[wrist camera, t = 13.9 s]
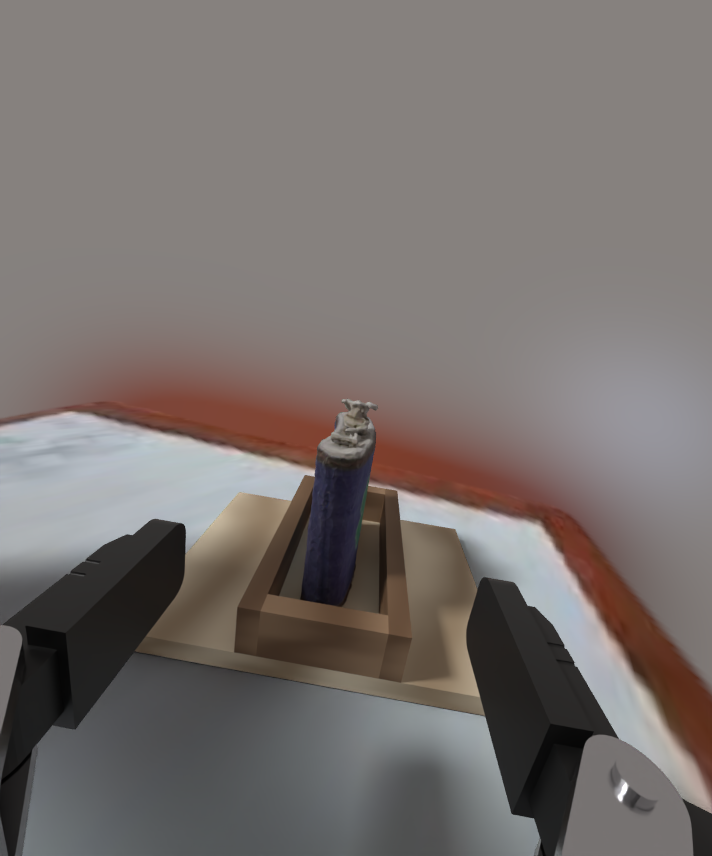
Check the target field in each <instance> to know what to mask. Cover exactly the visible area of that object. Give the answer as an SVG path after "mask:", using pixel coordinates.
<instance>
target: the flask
mask: <svg viewBox="0 0 712 856" xmlns="http://www.w3.org/2000/svg"><path fill="white" fill-rule="evenodd" d="M342 403H344V404H345V407H346V408H347V409H348V410H349V411H348V412H341V413H339V414H338V415H337V416H336V421H335V430H334V432H332V433H331V436H330V437H327V438H326V439H324V440H322V441H321V442H320V444H319V445H318V447H317V457H316V470H315V481H314V486H313V493H312V505H311V514H310V520H309V524H308V535H307V549H306V557H305V566H304V575H303V581H302V589H301V590H302V592H301V597H300V599H299V600H304V601H309V602H315V603H321V604H326V605H332V606H337V607H342V606H343V605H344V604H345V602H346V601H347V598H348V594H349V591H350V589H351V588H352V582H353V581H354V580H353V578H354V576H355V575H354V572H355V569H356V568H355V567H356V564H355V562H356V554H357V549H358V542H359V537H360V532H361V526H362V519H363V513H364V507H365V501H366V496H367V490H368V483H369V477H370V472H371V466H372V461H373V455H374V451H375V444H376V432H375V428H374V426H373V423H372V421H371V420H370V418H369V417H367V415H366V414H367V412H368V411H369V407H370V408H372V409H374V410H377V409H378V406H377V405H375V404H373V403H371V402H368V403H366V404H365V403H361V401H359V400H358V401H354V402H353V401H352V400H350V399H346V400H345V399H342Z"/></svg>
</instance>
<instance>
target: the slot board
mask: <svg viewBox="0 0 712 856" xmlns="http://www.w3.org/2000/svg"><path fill="white" fill-rule="evenodd" d="M314 481H315V477H312V476H307V475H305V476H304V478H303V480H302V482H301V484H300V486H299V488H298V490H297V492H296V494H295V496H294V498H293V499H292V501H288V500H282V499H276V498H270V497H264V496H259V495H253V494H247V493H241V492H239V493H238V494H237V495H236V496H235V498H234V499H233V500H232V501H231V502H230V503H229V505H228V506H227V507H226V508H225V509H224V510H223V511H222V513H221V514H220V515H219V516H218V517H217V518H216V520H215V521H214V522H213V523H212V524H211V525H210V527H209V528H208V529H207V530H206V531H205V532H204V534H203V535H202V536H201V537H200V538H199V539H198V541H197V542H196V543H195V544H194V545H193V546H192V548H191V549H190V550H189V551H188V552H187V553H186V554H185V574H184V579H183V583H182V585H181V588H180V590H179V592H178V594H177V596H176V597H175V599H174V600H173V601H172V602H171V604H170V605H169V606H168V608H167V609H166V610H165V612H164V613H163V614H162V616H161V617H160V618H159V620H158V621H157V622H156V624H155V625H154V626H153V628H152V629H151V630H150V631H149V633H148V634H147V635H146V637H145V638H144V639H143V641H142V642H141V643H140V645H139V646H138V647H137V649H136V650H135V652H140V653H146V654H151V655H156V656H162V657H167V658H173V659H178V660H184V661H189V662H195V663H200V664H206V665H211V666H217V667H222V668H227V669H233V670H238V671H244V672H249V673H255V674H260V675H266V676H271V677H277V678H282V679H287V680H293V681H298V682H304V683H309V684H315V685H320V686H326V687H331V688H337V689H342V690H348V691H353V692H358V693H364V694H369V695H375V696H380V697H386V698H391V699H397V700H402V701H408V702H413V703H418V704H424V705H429V706H435V707H440V708H446V709H451V710H457V711H462V712H468V713H473V714H479V715H484V716H485V713H484V710H483V706H482V702H481V699H480V695H479V691H478V687H477V684H476V680H475V676H474V673H473V669H472V665H471V662H470V658H469V654H468V650H467V644H466V630H467V624H468V620H469V617H470V613H471V610H472V607H473V603H474V600H475V597H476V593H477V587H476V584H475V581H474V579H473V576H472V573H471V571H470V568H469V565H468V563H467V560H466V557H465V554H464V552H463V549H462V546H461V544H460V541H459V538H458V536H457V533H456V530H455V529H451V528H445V527H439V526H433V525H427V524H421V523H416V522H410V521H404V520H400V514H399V504H398V494H397V491H395V490H389V489H383V488H377V487H371V486H368V490H367V496H366V501H365V507H364V513H363V519H362V526H361V532H360V537H359V542H358V549H357V554H356V562H355V564H356V567H355V568H356V569H355V572H354V575H355V576H354V578H353V580H354V581H353V582H352V588H351V589H350V591H349V594H348V598H347V601H346V602H345V604H344V605H343V606H342V607H337V606H332V605H326V604H321V603H315V602H309V601H304V600H299V599H300V597H301V592H302V590H301V589H302V581H303V575H304V566H305V557H306V549H307V535H308V524H309V520H310V514H311V505H312V493H313V486H314Z"/></svg>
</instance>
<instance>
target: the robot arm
mask: <svg viewBox="0 0 712 856" xmlns="http://www.w3.org/2000/svg"><path fill="white" fill-rule="evenodd" d="M185 542H186V529H185V526H184V524H182V523H176V522H170V521H164V520H159V519H152V520H151V521H149V522H148V523H147V524H145V525H144V526H143V527H142V528H141V529H140V530H138V531H137V532H136V533H135V534H134V535H125V536H122V537H120V538H118V539H116V540H114V541H111V542H109V543H107V544H105V545H103V546H102V547H101V548H100V549H98V550H97V551H96V552H94V553H93V554H92V555H91V556H89V557H88V558H87V559H86V561H85V562H82V563H80V564H79V565H78V566H77V567H75V568H74V569H73V570H72V571H71V573H70V574H66V575H65V576H64V577H63V578H61V579H60V580H59V581H58V582H56V583H55V584H54V585H53V586H51V587H50V588H49V589H47V590H46V591H45V592H44V593H42V594H41V595H40V596H39V597H37V598H36V599H35V600H33V601H32V602H31V603H30V604H28V605H27V606H26V607H25V608H23V609H22V610H21V611H19V612H18V613H17V614H16V615H14V616H13V617H12V618H11V619H9V620H8V621H7V622H6V623H4V624H3V625H0V856H22V854H23V847H24V840H25V833H26V827H27V820H28V813H29V807H30V800H31V793H32V786H33V780H34V773H35V766H36V760H37V750H38V747H37V743H38V742H39V741H40V740H41V738H42V737H43V736H44V735H45V733H46V732H47V731H48V730H49V729H50V727H51V726H52V725H54V726H59V727H65V728H70V729H76V728H77V726H78V725H79V724H80V722H81V721H82V720H83V718H84V717H85V716H86V714H87V713H88V712H89V710H90V709H91V708H92V707H93V705H94V704H95V703H96V701H97V700H98V699H99V697H100V696H101V695H102V693H103V692H104V691H105V689H106V688H107V687H108V685H109V684H110V683H111V682H112V680H113V679H114V678H115V676H116V675H117V674H118V672H119V671H120V670H121V668H122V667H123V666H124V664H125V663H126V662H127V660H128V659H129V658H130V656H131V655H132V654H133V653H134V651H135V650H136V649H137V647H138V646H139V645H140V643H141V642H142V641H143V639H144V638H145V637H146V635H147V634H148V633H149V631H150V630H151V629H152V628H153V626H154V625H155V624H156V622H157V621H158V620H159V618H160V617H161V616H162V614H163V613H164V612H165V610H166V609H167V608H168V606H169V605H170V604H171V602H172V601H173V600H174V599H175V597H176V596H177V594H178V592H179V590H180V588H181V585H182V583H183V579H184V574H185ZM466 644H467V650H468V654H469V658H470V662H471V665H472V669H473V673H474V676H475V680H476V684H477V687H478V691H479V695H480V699H481V702H482V706H483V710H484V713H485V717H486V721H487V724H488V728H489V732H490V736H491V739H492V743H493V747H494V750H495V754H496V758H497V761H498V765H499V769H500V772H501V776H502V780H503V784H504V787H505V791H506V795H507V798H508V802H509V806H510V809H511V813H512V814H513V815H519V816H524V817H529V818H534V819H535V822H536V826H537V829H538V832H539V835H540V839H539V841H538V844H537V846H536V849H535V853H534V856H712V814H711V813H709V812H707V811H705V810H703V809H701V808H699V807H697V806H695V805H693V804H691V803H689V802H687V801H685V800H684V799H682V798H681V796H680V795H679V793H678V791H677V790H676V788H675V787H674V786H673V784H672V783H671V782H670V780H669V779H668V778H667V777H666V776H665V774H664V773H663V772H662V771H661V770H660V769H659V768H658V767H657V766H656V765H655V764H654V763H653V762H652V761H651V760H650V759H649V758H647V757H646V756H645V755H644V754H642V753H641V752H640V751H638V750H637V749H636V748H634V747H633V746H631V745H629V744H628V743H626V742H624V741H622V740H620V739H619V738H618V737H617V735H616V733H615V731H614V730H613V728H612V726H611V725H610V723H609V721H608V719H607V718H606V716H605V714H604V712H603V711H602V709H601V707H600V706H599V704H598V702H597V700H596V699H595V697H594V695H593V694H592V692H591V690H590V688H589V687H588V685H587V683H586V681H585V680H584V678H583V676H582V675H581V673H580V671H579V669H578V668H577V667H575V665H574V661H573V659H572V657H571V656H570V654H569V652H568V650H567V649H565V648H564V644H563V642H562V640H561V638H560V637H559V635H558V633H557V632H556V630H555V628H554V626H553V625H552V624H551V623H550V622H549V621H548V620H547V619H546V618H545V617H544V616H543V615H542V614H541V613H540V612H539V611H538V610H537V609H536V608H535V607H531V606H527V604H526V602H525V600H524V598H523V596H522V595H521V593H520V591H519V589H518V587H517V585H516V584H515V583H513V582H509V581H503V580H497V579H491V578H486V577H484V578H482V580H481V581H480V584H479V587H478V590H477V593H476V597H475V600H474V603H473V607H472V610H471V613H470V617H469V620H468V624H467V630H466Z"/></svg>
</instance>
